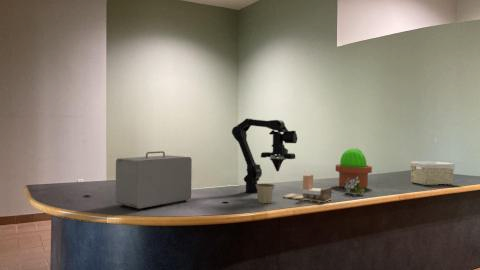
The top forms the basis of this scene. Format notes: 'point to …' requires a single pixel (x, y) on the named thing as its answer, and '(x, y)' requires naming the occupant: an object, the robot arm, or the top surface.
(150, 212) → the top surface
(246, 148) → the robot arm
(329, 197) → the tan cardboard slab
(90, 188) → the top surface
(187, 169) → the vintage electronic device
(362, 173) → the potted cactus
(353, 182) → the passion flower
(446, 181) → the storage basket
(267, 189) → the flower pot
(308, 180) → the brown piece
